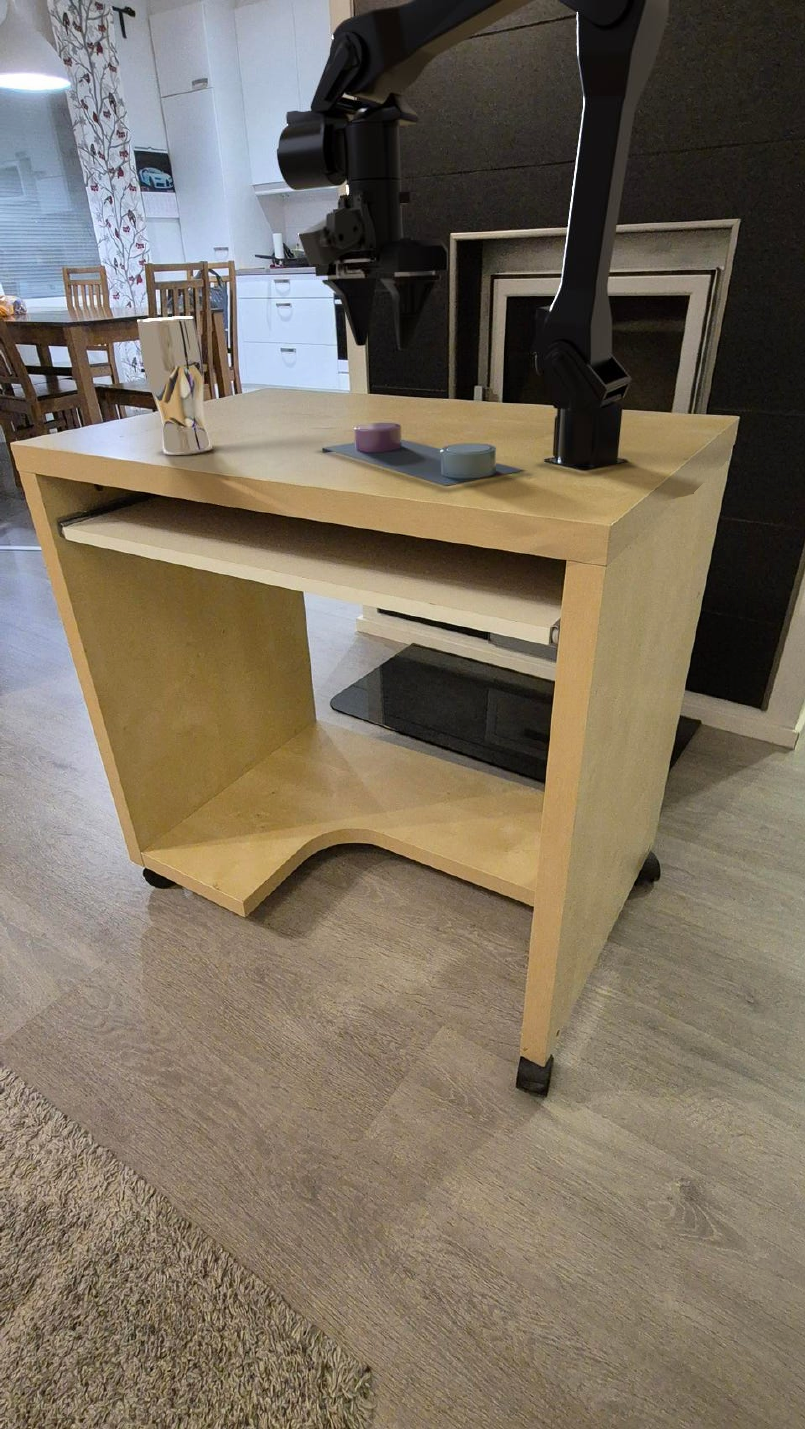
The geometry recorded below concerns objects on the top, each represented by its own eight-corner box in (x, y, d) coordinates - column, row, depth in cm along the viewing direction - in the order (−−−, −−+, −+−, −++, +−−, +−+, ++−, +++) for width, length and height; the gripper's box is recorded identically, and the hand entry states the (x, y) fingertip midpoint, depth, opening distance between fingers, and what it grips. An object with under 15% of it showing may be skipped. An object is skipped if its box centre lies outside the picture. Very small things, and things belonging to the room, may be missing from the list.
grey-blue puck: (507, 473, 78) (507, 448, 77) (462, 481, 76) (462, 456, 75) (473, 464, 83) (473, 440, 81) (430, 472, 80) (430, 447, 79)
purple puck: (410, 447, 92) (410, 426, 90) (370, 454, 89) (369, 432, 88) (386, 441, 96) (385, 420, 95) (346, 447, 93) (345, 426, 92)
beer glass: (201, 456, 95) (179, 319, 87) (149, 456, 96) (123, 321, 88) (224, 445, 100) (205, 316, 93) (175, 445, 102) (152, 318, 94)
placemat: (524, 475, 79) (524, 470, 79) (445, 491, 75) (445, 485, 75) (391, 440, 99) (391, 436, 98) (322, 451, 94) (321, 447, 94)
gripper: (265, 190, 83) (282, 349, 91) (351, 169, 70) (362, 358, 77) (354, 192, 89) (363, 342, 96) (450, 172, 75) (451, 349, 83)
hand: (381, 347), depth 88 cm, fingers open, 9 cm apart
